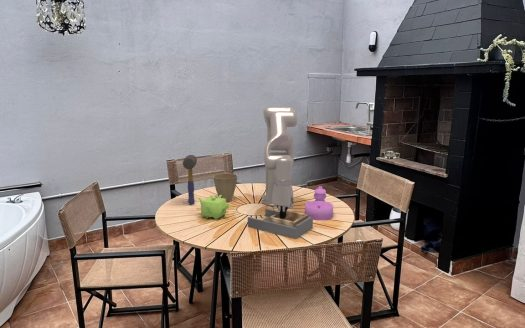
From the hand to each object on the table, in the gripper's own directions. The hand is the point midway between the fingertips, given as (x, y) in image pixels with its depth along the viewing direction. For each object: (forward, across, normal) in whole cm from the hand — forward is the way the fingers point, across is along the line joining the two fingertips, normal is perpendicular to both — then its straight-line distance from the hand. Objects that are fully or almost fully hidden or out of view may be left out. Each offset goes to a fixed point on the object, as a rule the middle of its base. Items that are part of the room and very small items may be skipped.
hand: (282, 218), depth 188 cm
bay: (+5, -2, 0) cm, 6 cm away
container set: (+5, +4, +33) cm, 34 cm away
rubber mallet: (+5, -67, +3) cm, 67 cm away
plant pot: (+5, -55, +21) cm, 59 cm away
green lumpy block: (+5, -41, -6) cm, 42 cm away
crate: (+4, +3, 0) cm, 5 cm away
